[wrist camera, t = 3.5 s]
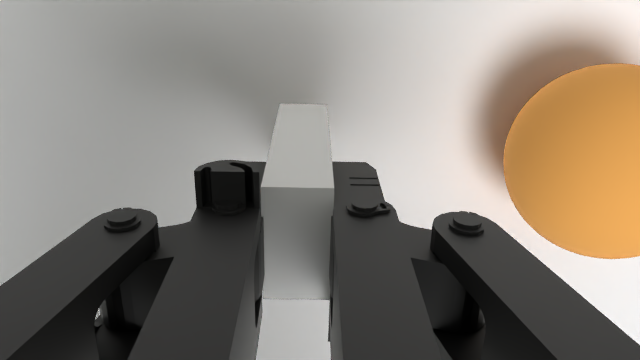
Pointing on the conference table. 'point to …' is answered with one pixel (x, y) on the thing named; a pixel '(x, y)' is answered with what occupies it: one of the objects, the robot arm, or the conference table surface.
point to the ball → (580, 161)
